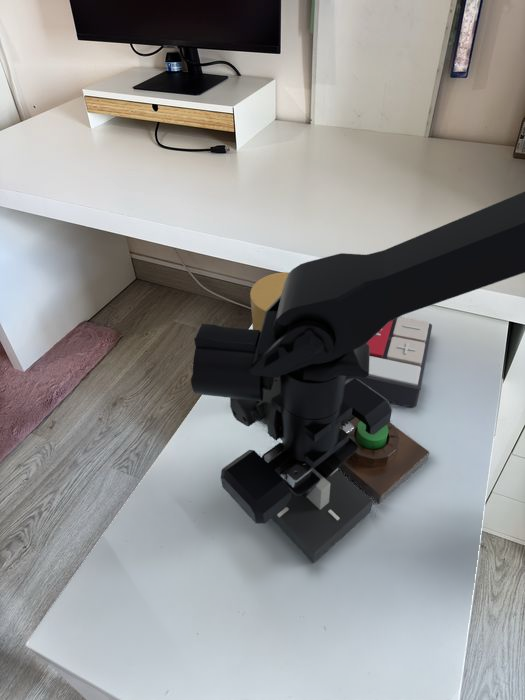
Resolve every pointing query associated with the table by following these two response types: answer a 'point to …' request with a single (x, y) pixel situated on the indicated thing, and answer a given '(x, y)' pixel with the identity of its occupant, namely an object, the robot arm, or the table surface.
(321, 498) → the dimmer knob
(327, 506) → the panel
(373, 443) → the power button
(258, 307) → the desk lamp
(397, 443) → the switch block
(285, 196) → the table surface
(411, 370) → the calculator
